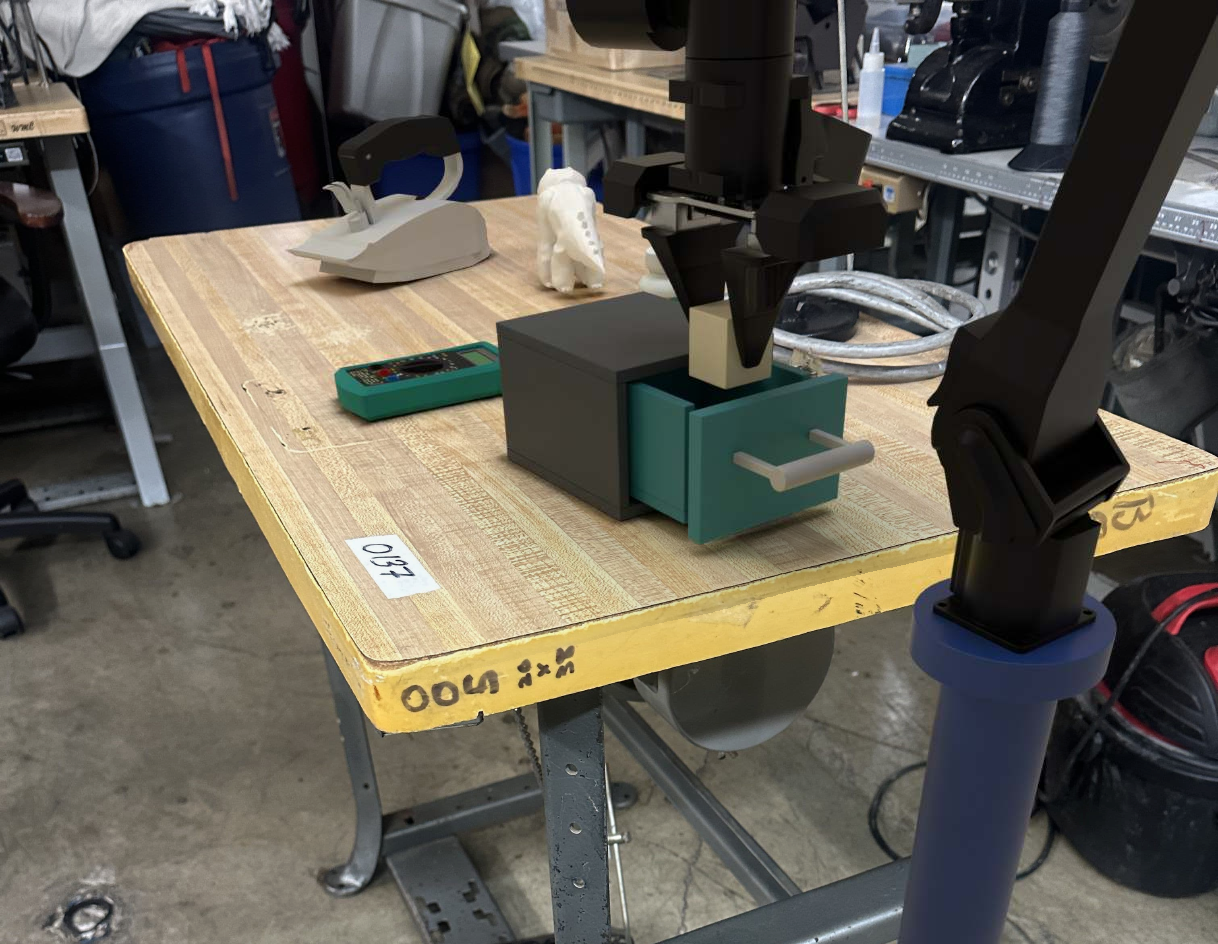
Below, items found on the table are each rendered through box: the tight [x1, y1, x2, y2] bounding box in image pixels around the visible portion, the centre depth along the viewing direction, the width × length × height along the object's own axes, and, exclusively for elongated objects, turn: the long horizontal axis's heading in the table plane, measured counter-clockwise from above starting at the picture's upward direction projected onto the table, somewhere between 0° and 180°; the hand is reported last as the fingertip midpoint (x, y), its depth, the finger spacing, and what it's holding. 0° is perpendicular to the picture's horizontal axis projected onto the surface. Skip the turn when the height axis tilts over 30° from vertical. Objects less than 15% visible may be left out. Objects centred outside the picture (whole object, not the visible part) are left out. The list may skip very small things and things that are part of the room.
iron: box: [285, 114, 492, 284], centre depth 130 cm, size 11×24×15 cm, turn 139°
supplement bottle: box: [637, 246, 679, 302], centre depth 99 cm, size 5×5×10 cm
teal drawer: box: [626, 358, 876, 545], centre depth 74 cm, size 18×11×8 cm, turn 34°
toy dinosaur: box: [535, 166, 607, 294], centre depth 120 cm, size 7×24×11 cm, turn 15°
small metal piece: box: [789, 346, 824, 379], centre depth 96 cm, size 6×2×3 cm, turn 22°
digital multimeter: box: [333, 340, 502, 422], centre depth 97 cm, size 7×15×3 cm, turn 119°
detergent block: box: [689, 298, 774, 389], centre depth 70 cm, size 4×4×4 cm
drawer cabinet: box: [495, 291, 775, 522], centre depth 81 cm, size 15×13×10 cm
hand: (730, 359), depth 71 cm, fingers closed on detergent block, 4 cm apart
